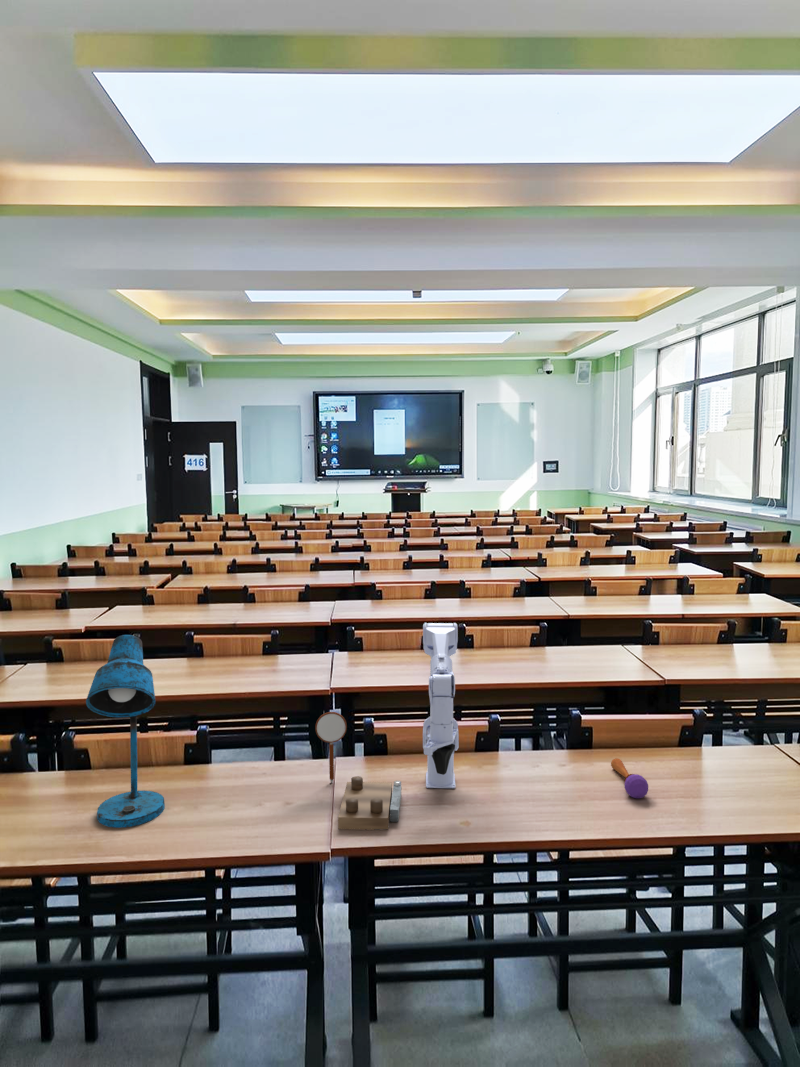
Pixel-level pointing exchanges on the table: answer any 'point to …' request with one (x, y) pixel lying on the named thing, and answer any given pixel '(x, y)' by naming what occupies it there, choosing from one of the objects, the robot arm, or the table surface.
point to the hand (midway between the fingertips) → (441, 773)
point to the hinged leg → (395, 802)
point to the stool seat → (365, 805)
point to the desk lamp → (130, 694)
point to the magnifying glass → (331, 733)
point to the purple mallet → (631, 780)
